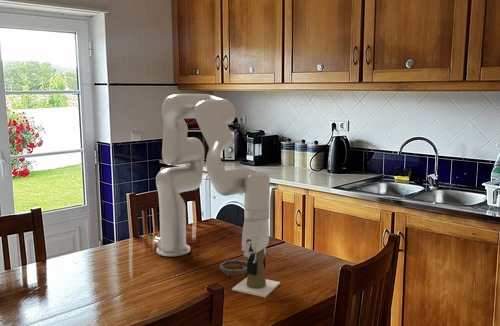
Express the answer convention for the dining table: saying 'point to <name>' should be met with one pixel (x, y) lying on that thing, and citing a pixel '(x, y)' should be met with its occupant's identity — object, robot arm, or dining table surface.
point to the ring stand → (229, 271)
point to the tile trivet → (256, 291)
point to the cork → (259, 279)
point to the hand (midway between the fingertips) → (256, 270)
